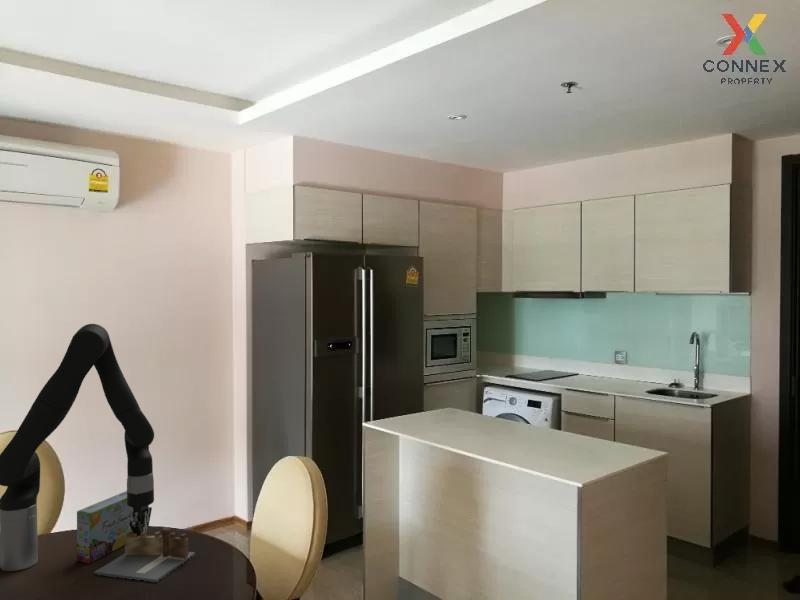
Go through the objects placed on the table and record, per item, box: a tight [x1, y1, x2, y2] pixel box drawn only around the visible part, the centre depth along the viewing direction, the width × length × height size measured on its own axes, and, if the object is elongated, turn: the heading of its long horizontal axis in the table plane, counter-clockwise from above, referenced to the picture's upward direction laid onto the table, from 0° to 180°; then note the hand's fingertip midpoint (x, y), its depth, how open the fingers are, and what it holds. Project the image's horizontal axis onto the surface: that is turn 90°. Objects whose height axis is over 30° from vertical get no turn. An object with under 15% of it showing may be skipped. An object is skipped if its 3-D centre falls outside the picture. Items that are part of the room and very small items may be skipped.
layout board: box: [94, 551, 196, 583], centre depth 180 cm, size 20×18×1 cm
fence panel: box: [124, 531, 163, 555], centre depth 184 cm, size 11×2×6 cm, turn 88°
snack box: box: [76, 490, 137, 564], centre depth 191 cm, size 21×6×15 cm, turn 162°
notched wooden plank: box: [160, 527, 190, 558], centre depth 183 cm, size 8×3×9 cm, turn 75°
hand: (141, 544), depth 189 cm, fingers closed
